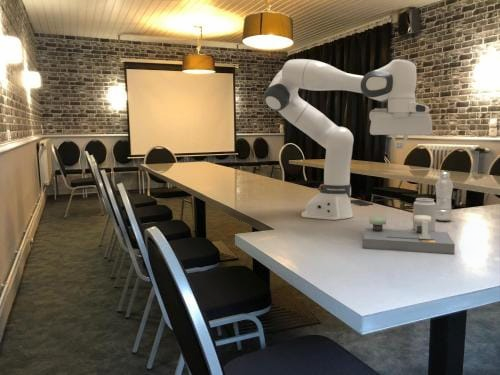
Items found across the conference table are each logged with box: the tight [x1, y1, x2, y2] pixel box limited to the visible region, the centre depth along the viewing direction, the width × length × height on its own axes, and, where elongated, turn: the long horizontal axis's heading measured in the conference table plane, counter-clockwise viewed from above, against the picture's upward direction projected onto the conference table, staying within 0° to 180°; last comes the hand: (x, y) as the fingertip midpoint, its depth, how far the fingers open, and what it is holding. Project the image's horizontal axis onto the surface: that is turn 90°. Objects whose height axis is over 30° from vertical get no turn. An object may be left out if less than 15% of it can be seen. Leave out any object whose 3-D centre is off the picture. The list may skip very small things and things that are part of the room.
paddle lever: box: [419, 220, 431, 239], centre depth 128 cm, size 3×4×5 cm
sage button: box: [369, 216, 387, 226], centre depth 141 cm, size 5×5×2 cm
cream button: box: [414, 215, 431, 223], centre depth 136 cm, size 5×5×2 cm
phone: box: [350, 199, 374, 207], centre depth 216 cm, size 8×1×15 cm
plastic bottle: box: [434, 171, 454, 222], centre depth 168 cm, size 6×7×20 cm
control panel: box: [362, 224, 456, 255], centre depth 134 cm, size 26×16×5 cm, turn 72°
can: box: [412, 197, 436, 232], centre depth 152 cm, size 8×8×12 cm
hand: (399, 148), depth 144 cm, fingers closed
